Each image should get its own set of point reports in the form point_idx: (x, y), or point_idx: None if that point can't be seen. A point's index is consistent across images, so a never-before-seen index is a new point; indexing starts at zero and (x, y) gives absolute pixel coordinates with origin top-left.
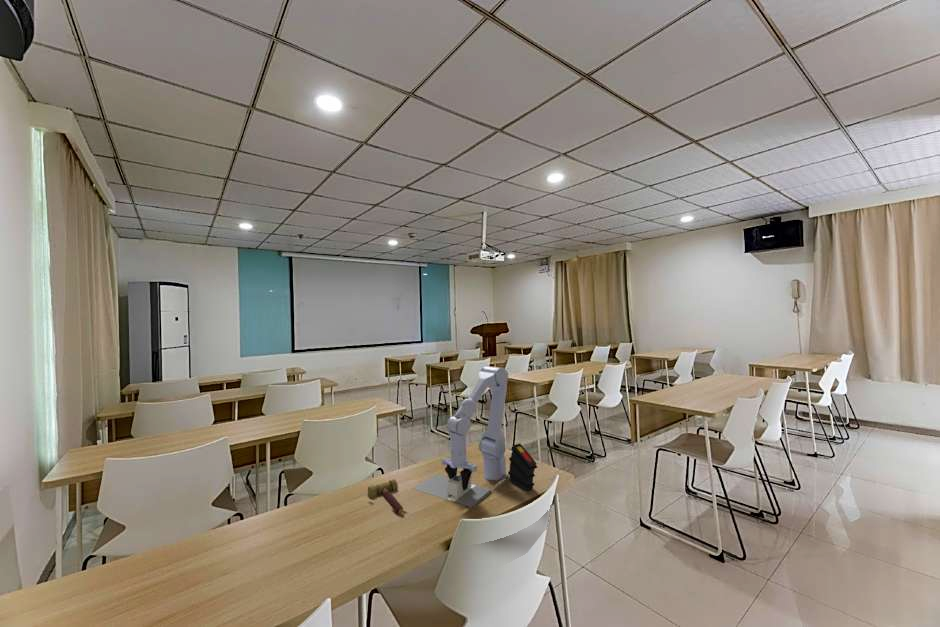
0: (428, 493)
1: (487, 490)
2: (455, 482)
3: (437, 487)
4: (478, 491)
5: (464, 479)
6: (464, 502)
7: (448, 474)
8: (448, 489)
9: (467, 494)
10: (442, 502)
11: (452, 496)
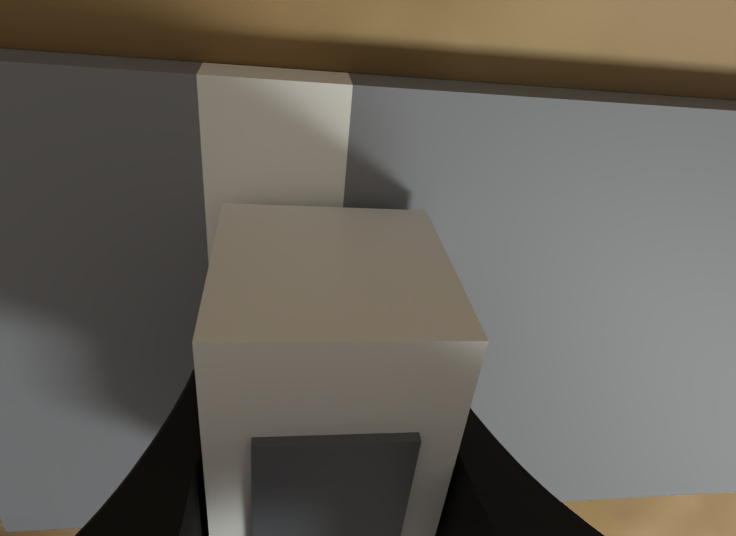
0: (730, 113)
1: (18, 502)
2: (284, 387)
3: (647, 304)
4: (95, 447)
5: (94, 524)
6: (15, 129)
7: (549, 514)
8: (417, 250)
9: (164, 339)
10: (418, 31)
11: (327, 203)
